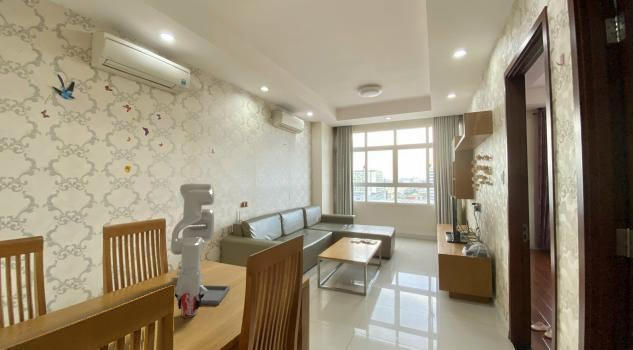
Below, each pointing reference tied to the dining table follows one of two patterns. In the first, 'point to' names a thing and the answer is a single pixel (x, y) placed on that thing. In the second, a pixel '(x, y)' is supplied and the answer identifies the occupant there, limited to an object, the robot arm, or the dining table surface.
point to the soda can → (188, 305)
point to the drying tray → (214, 294)
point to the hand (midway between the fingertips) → (189, 307)
